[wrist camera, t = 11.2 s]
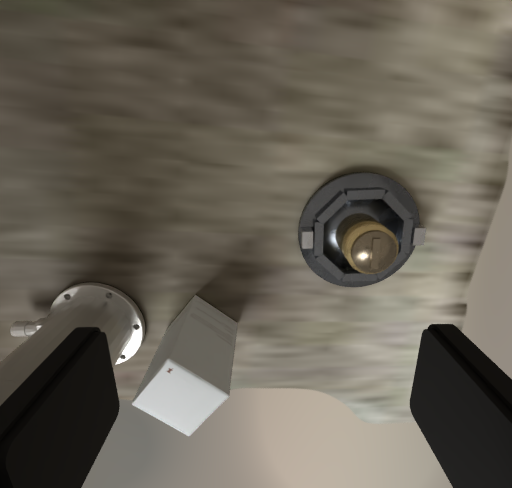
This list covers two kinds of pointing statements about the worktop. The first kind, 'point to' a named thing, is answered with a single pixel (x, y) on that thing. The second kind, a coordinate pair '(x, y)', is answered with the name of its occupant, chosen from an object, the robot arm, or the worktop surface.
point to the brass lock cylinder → (366, 243)
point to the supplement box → (190, 368)
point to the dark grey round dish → (351, 202)
